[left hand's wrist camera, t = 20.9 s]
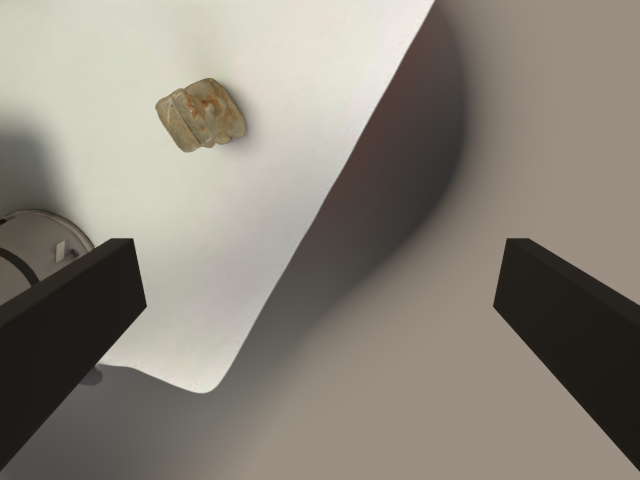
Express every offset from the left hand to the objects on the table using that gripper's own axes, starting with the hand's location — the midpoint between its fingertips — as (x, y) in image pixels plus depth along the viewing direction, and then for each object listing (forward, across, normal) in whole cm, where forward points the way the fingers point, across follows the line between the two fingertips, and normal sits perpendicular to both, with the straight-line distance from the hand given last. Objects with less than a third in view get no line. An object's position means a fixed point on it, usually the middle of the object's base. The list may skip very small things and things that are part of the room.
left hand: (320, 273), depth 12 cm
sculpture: (+36, +12, -5) cm, 38 cm away
